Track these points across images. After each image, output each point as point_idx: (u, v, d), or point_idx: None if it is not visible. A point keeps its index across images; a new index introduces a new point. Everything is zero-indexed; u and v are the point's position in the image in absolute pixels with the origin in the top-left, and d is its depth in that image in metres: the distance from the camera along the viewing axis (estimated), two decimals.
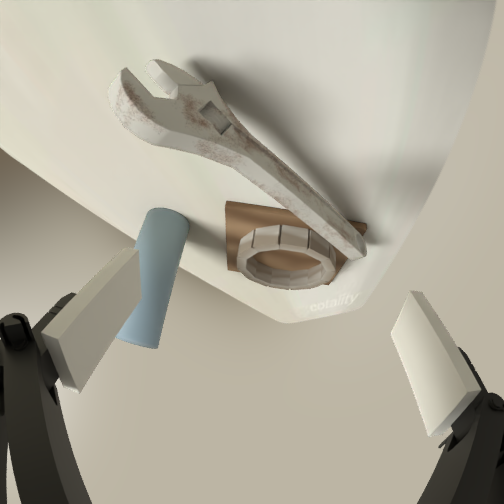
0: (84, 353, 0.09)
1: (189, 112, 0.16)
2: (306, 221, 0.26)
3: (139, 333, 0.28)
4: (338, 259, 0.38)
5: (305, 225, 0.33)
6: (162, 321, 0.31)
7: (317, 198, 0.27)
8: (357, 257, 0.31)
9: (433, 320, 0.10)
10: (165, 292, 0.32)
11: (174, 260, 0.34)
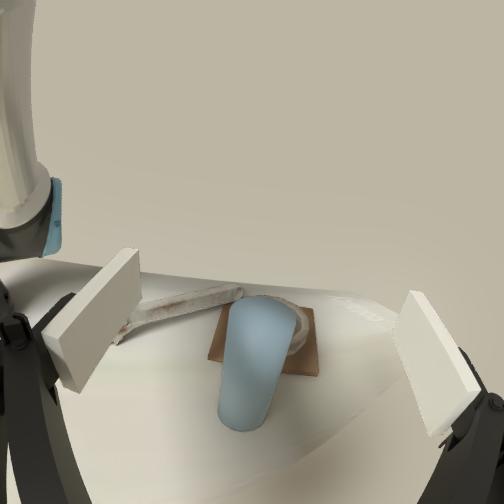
0: (84, 353, 0.09)
1: None
2: (192, 297, 0.46)
3: None
4: None
5: (226, 318, 0.48)
6: None
7: None
8: (236, 284, 0.52)
9: (433, 320, 0.10)
10: None
11: None
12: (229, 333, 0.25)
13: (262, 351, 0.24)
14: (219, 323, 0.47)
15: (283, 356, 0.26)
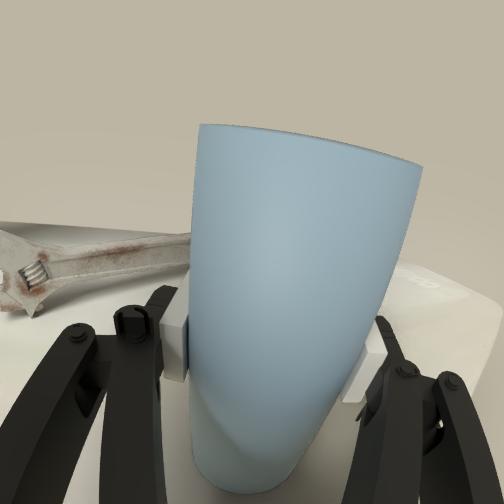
0: None
1: None
2: (157, 241, 0.27)
3: None
4: None
5: None
6: None
7: None
8: None
9: None
10: None
11: None
12: (197, 190, 0.07)
13: (339, 230, 0.05)
14: None
15: (388, 282, 0.07)
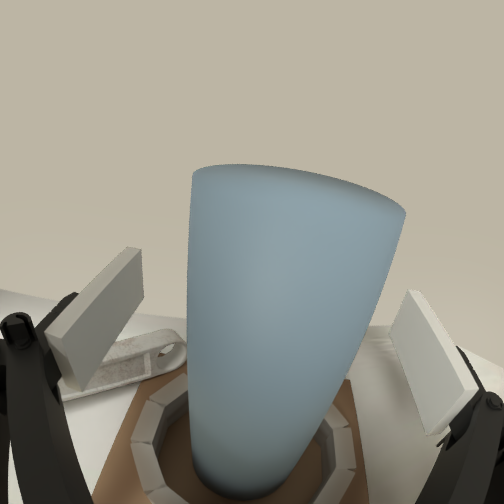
0: (87, 352, 0.09)
1: None
2: None
3: None
4: None
5: None
6: None
7: None
8: (167, 334, 0.20)
9: (431, 319, 0.11)
10: None
11: None
12: (191, 240, 0.08)
13: (318, 287, 0.06)
14: (119, 436, 0.14)
15: (369, 319, 0.08)
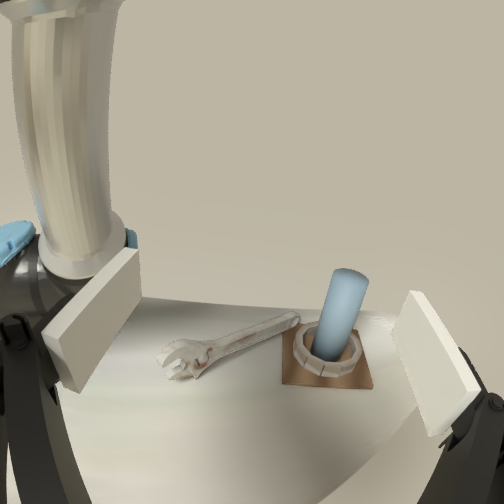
0: (84, 353, 0.09)
1: None
2: (261, 328, 0.50)
3: None
4: None
5: (289, 344, 0.53)
6: None
7: None
8: (293, 312, 0.57)
9: (433, 320, 0.10)
10: None
11: None
12: (334, 288, 0.44)
13: (355, 295, 0.43)
14: (284, 349, 0.51)
15: (362, 300, 0.45)
